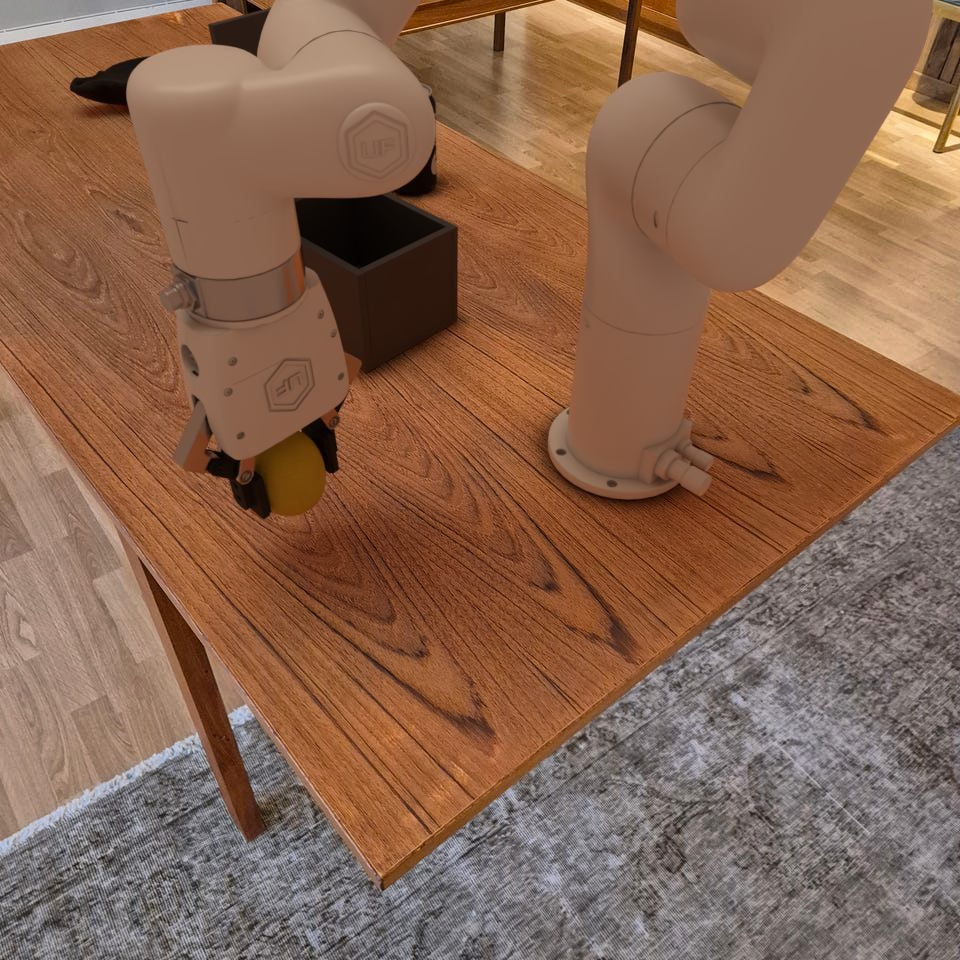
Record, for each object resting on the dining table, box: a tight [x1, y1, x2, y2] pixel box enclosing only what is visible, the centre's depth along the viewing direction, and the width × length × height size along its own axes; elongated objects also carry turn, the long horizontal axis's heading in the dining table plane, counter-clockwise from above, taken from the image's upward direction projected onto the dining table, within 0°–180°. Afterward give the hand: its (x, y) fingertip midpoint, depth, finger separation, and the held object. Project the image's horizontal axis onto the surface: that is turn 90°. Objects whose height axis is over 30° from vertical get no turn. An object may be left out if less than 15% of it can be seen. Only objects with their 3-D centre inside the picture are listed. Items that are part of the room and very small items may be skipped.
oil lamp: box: [69, 55, 152, 107], centre depth 130 cm, size 15×20×5 cm
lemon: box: [254, 430, 327, 517], centre depth 65 cm, size 6×6×8 cm
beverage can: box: [392, 82, 438, 196], centre depth 110 cm, size 7×7×12 cm
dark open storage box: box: [294, 192, 459, 374], centre depth 89 cm, size 16×13×11 cm
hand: (289, 483), depth 66 cm, fingers closed on lemon, 5 cm apart
